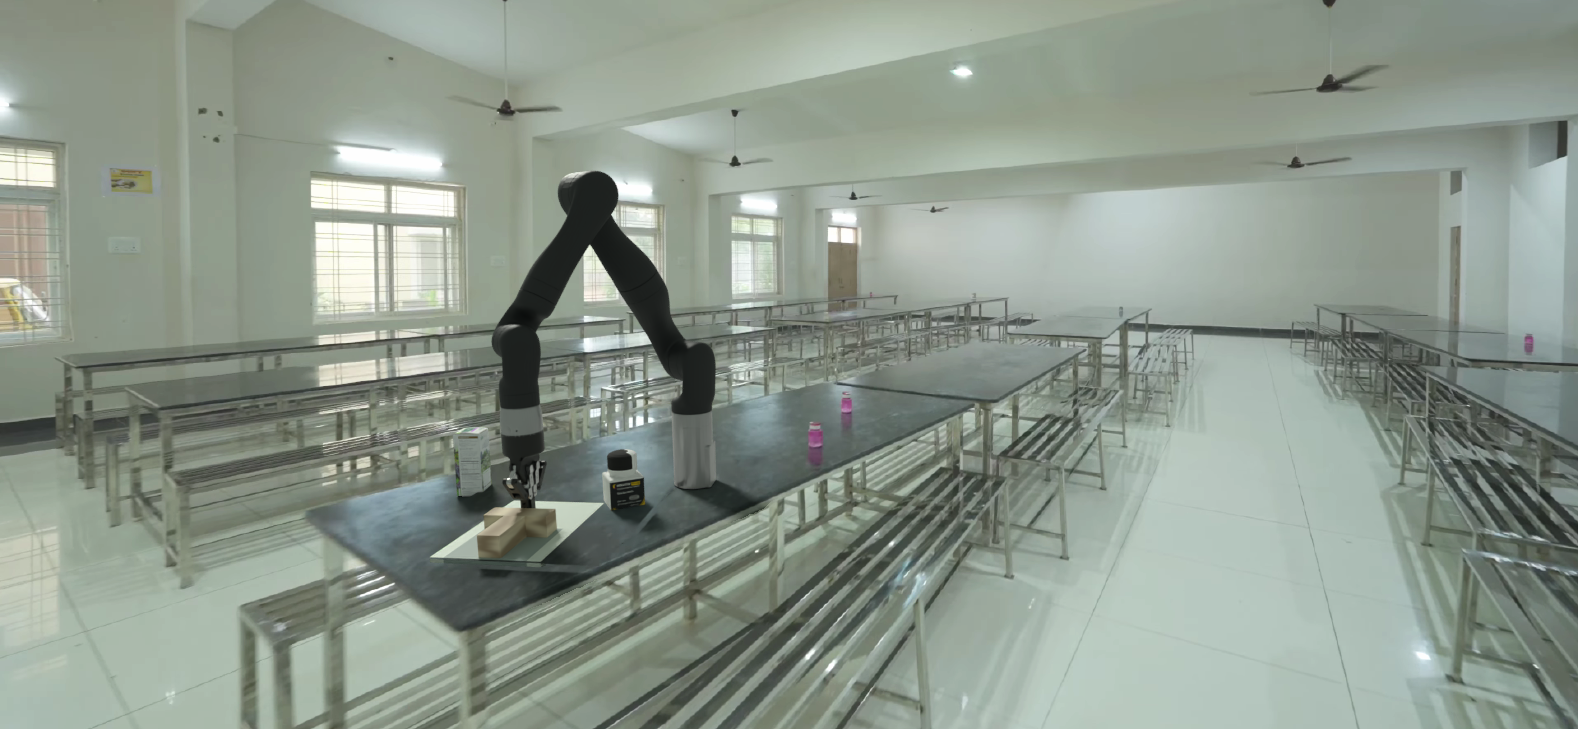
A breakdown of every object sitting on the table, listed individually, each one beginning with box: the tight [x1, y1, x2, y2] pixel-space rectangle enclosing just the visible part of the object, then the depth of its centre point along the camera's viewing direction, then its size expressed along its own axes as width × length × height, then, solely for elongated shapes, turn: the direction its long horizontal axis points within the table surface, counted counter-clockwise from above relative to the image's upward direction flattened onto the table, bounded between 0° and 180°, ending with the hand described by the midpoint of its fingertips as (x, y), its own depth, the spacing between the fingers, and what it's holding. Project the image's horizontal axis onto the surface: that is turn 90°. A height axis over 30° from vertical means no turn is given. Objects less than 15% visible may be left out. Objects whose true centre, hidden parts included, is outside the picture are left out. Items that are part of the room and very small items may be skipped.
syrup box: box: [452, 426, 493, 497], centre depth 149 cm, size 6×6×14 cm
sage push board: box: [429, 499, 605, 568], centre depth 127 cm, size 20×28×1 cm
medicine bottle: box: [601, 448, 646, 511], centre depth 139 cm, size 7×7×12 cm
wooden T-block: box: [477, 506, 557, 558], centre depth 120 cm, size 12×13×4 cm
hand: (529, 516), depth 128 cm, fingers closed
